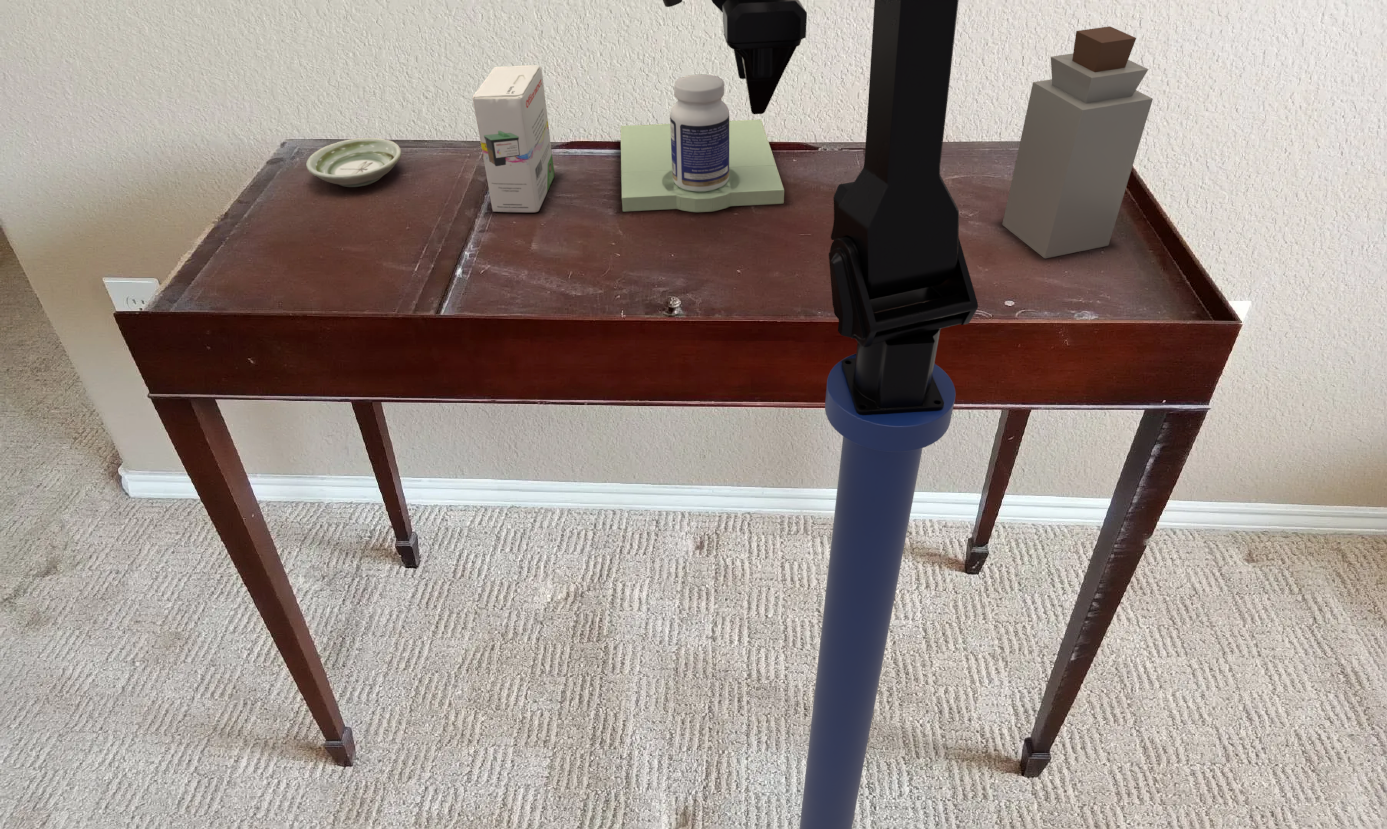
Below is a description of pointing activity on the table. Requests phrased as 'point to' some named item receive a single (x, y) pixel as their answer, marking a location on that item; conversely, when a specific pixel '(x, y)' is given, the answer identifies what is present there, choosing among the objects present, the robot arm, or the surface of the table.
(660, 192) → the plate
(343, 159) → the saucer
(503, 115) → the ink box
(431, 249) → the table surface
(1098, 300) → the table surface
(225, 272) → the table surface
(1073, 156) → the perfume bottle
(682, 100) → the pill bottle
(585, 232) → the table surface
